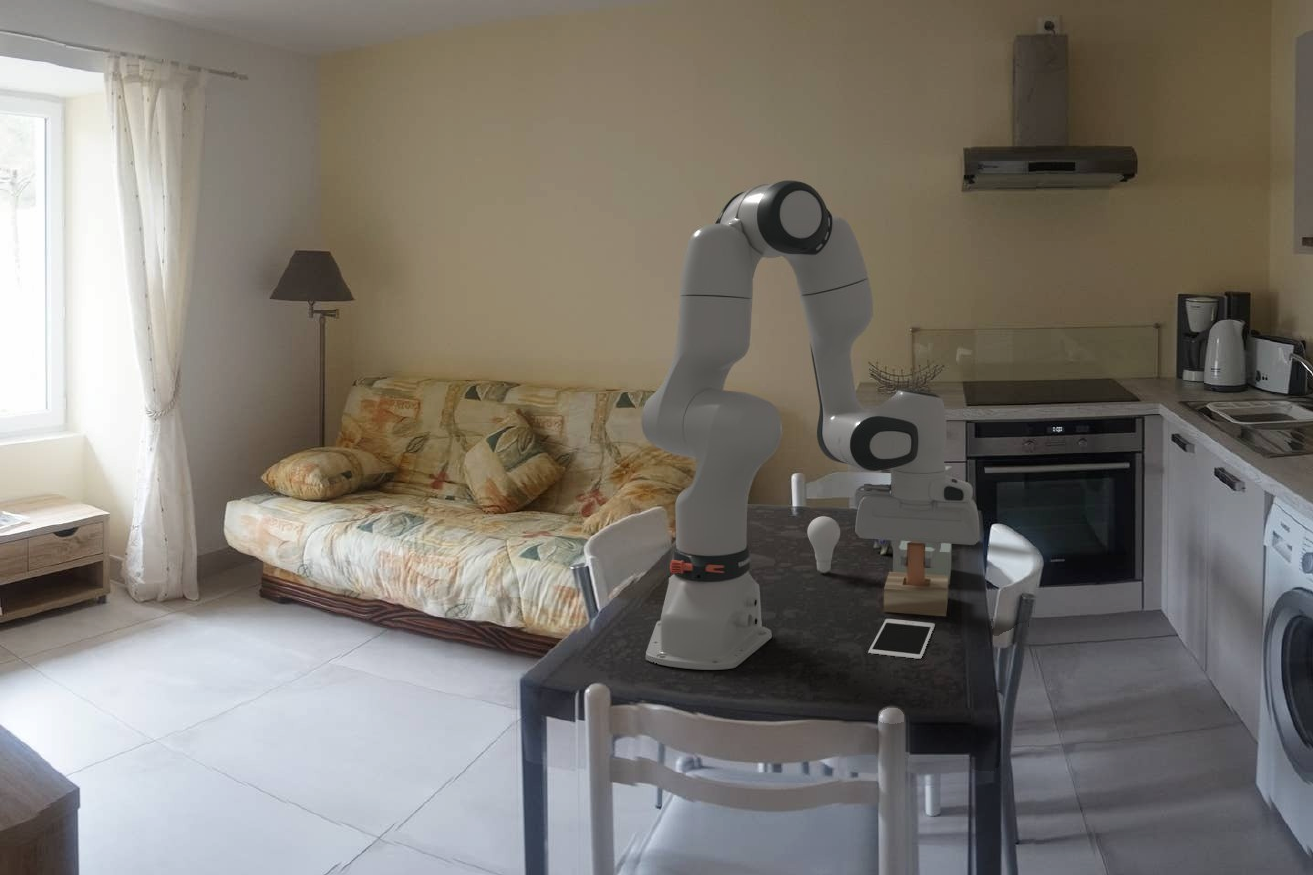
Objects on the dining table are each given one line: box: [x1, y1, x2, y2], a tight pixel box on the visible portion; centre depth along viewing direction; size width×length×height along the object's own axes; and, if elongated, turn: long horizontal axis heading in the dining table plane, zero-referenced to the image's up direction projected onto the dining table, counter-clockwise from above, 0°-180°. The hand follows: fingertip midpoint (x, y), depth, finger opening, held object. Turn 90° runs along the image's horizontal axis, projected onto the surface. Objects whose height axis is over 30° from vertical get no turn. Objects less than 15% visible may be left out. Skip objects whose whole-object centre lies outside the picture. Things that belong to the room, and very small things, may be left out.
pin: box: [906, 542, 926, 586], centre depth 168 cm, size 3×3×10 cm
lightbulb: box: [806, 515, 841, 574], centre depth 188 cm, size 6×6×11 cm
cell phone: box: [867, 618, 936, 660], centre depth 153 cm, size 8×16×1 cm, turn 157°
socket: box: [892, 541, 952, 585], centre depth 185 cm, size 10×10×6 cm
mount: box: [883, 571, 949, 617], centre depth 168 cm, size 10×10×4 cm
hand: (915, 566), depth 167 cm, fingers closed on pin, 3 cm apart
